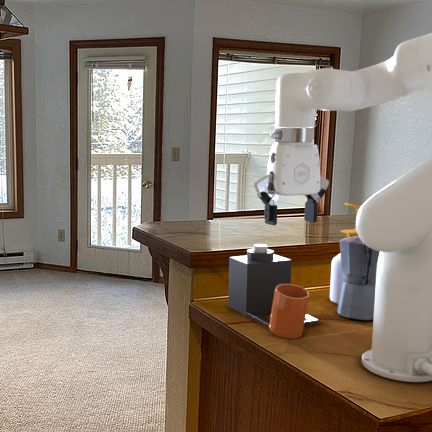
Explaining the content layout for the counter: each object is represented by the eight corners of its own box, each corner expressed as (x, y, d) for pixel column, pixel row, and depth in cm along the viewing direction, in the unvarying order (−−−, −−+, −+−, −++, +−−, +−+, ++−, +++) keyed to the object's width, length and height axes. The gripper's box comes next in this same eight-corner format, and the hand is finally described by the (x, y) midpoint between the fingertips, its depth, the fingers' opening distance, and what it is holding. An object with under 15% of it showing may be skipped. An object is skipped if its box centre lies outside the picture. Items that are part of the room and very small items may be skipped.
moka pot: (370, 306, 134) (375, 224, 131) (392, 328, 118) (398, 236, 116) (329, 305, 135) (333, 224, 132) (346, 327, 119) (351, 235, 117)
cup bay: (319, 324, 121) (319, 319, 121) (272, 331, 117) (273, 326, 117) (289, 310, 131) (290, 306, 131) (246, 316, 126) (246, 312, 126)
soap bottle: (322, 298, 141) (327, 201, 137) (352, 295, 143) (357, 200, 140) (344, 308, 132) (350, 206, 129) (376, 305, 135) (383, 204, 131)
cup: (309, 336, 114) (316, 296, 111) (281, 340, 112) (288, 300, 109) (289, 319, 120) (296, 282, 117) (262, 323, 118) (268, 285, 115)
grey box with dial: (289, 310, 131) (292, 252, 129) (246, 316, 126) (247, 256, 124) (270, 301, 138) (272, 246, 136) (228, 306, 134) (229, 249, 132)
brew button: (270, 253, 129) (270, 246, 129) (258, 254, 128) (258, 247, 128) (262, 250, 132) (262, 243, 132) (250, 251, 131) (251, 244, 131)
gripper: (268, 137, 103) (265, 228, 106) (342, 137, 110) (337, 223, 112) (246, 137, 110) (244, 222, 113) (317, 137, 117) (313, 218, 119)
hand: (290, 222), depth 112 cm, fingers open, 9 cm apart
